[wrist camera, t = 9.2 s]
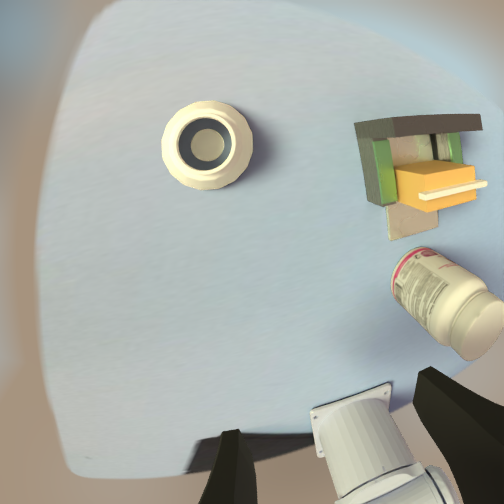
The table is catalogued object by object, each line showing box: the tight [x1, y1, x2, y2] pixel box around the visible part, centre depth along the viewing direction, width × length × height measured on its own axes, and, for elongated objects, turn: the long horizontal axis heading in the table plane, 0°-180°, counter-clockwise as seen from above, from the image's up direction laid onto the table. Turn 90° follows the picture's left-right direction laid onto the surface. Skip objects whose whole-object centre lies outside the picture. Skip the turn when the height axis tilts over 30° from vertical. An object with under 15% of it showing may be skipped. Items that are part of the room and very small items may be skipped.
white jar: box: [161, 100, 253, 190], centre depth 15 cm, size 5×3×5 cm
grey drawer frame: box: [354, 114, 483, 241], centre depth 15 cm, size 8×7×4 cm
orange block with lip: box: [394, 160, 487, 213], centre depth 15 cm, size 2×5×5 cm, turn 103°
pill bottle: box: [391, 247, 504, 361], centre depth 16 cm, size 5×5×8 cm
